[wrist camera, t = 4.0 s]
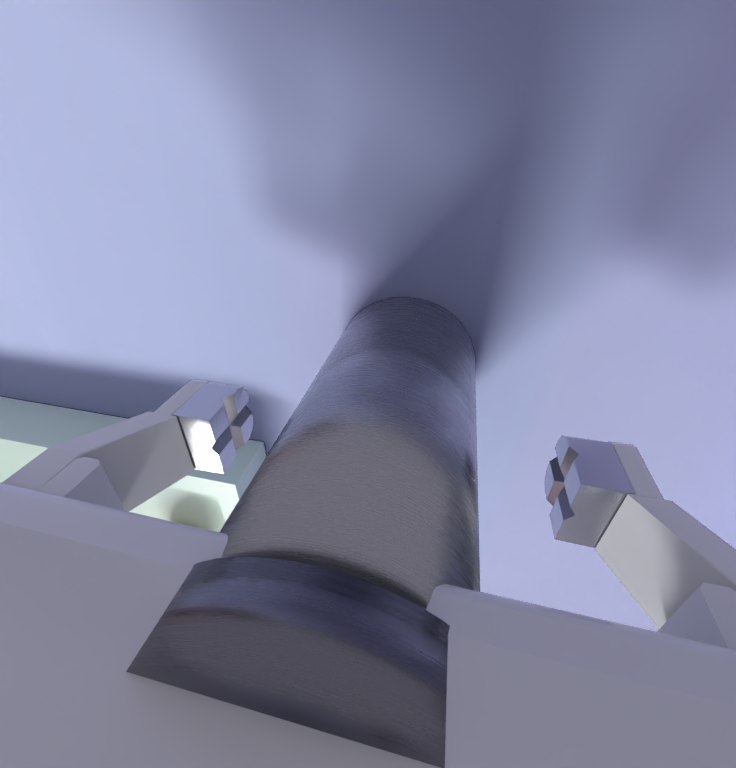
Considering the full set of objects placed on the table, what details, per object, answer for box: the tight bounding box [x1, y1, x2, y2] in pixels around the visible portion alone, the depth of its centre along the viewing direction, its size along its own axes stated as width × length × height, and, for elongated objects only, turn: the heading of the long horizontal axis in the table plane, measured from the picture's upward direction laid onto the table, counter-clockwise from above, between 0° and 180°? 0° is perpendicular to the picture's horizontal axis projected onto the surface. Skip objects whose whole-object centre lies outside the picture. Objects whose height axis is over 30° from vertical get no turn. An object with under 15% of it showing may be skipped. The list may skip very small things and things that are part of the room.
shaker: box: [126, 297, 480, 768], centre depth 9 cm, size 5×5×10 cm
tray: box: [0, 397, 266, 532], centre depth 22 cm, size 20×14×2 cm
